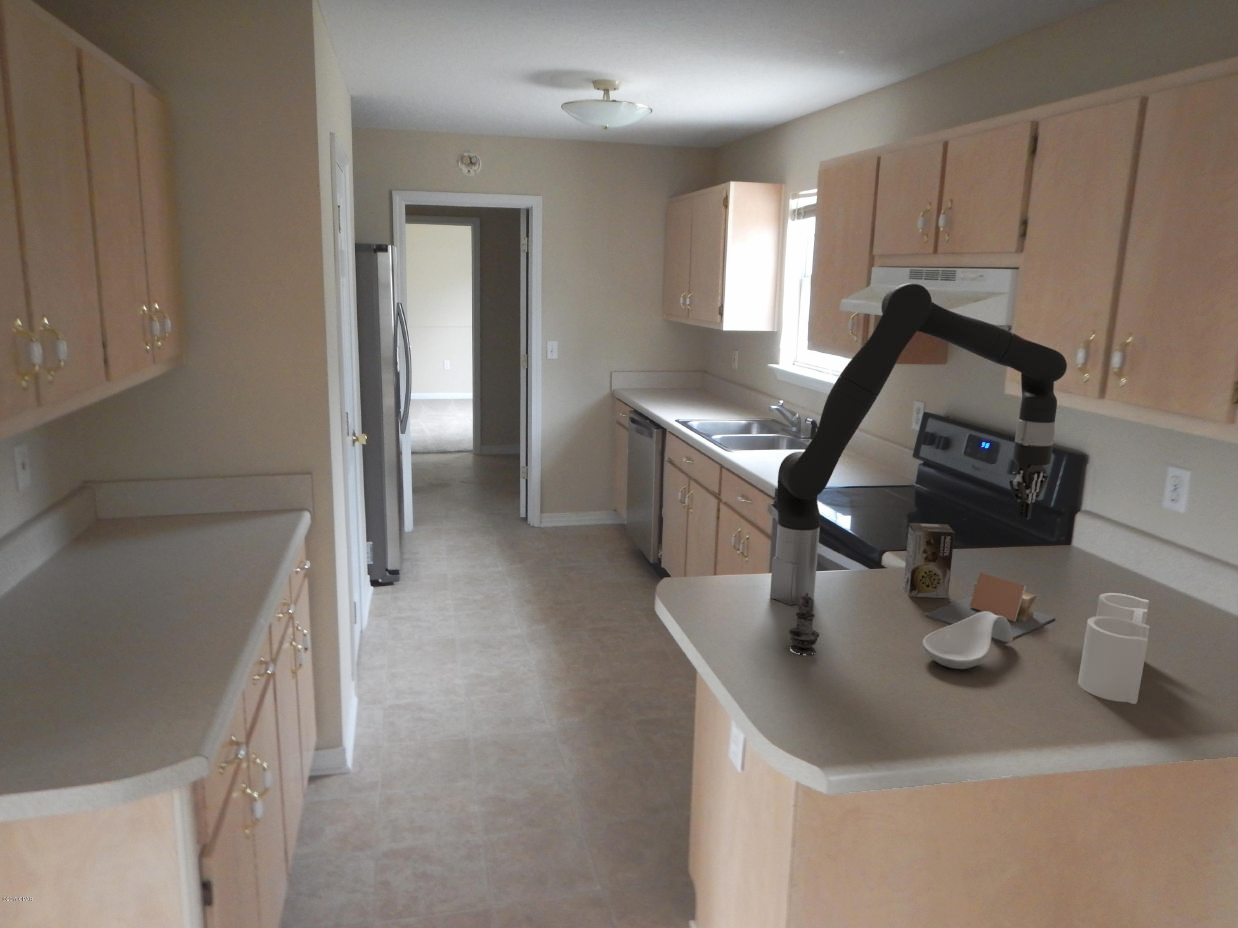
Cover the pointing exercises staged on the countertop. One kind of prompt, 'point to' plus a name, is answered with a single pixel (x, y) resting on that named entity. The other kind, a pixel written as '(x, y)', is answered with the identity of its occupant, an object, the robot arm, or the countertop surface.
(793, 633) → the chess piece
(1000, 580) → the tile
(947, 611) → the mat
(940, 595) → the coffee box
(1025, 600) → the block
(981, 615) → the spoon rest
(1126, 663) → the bracket
